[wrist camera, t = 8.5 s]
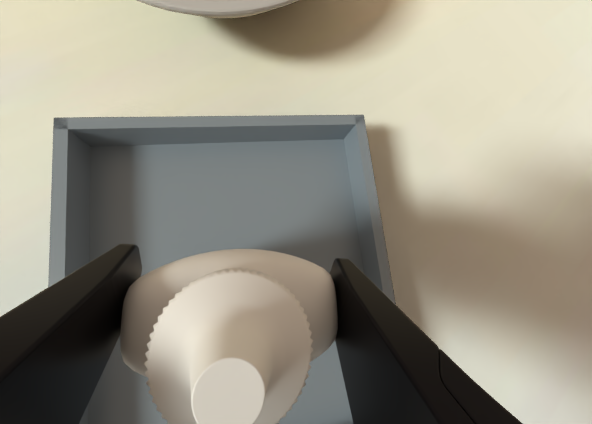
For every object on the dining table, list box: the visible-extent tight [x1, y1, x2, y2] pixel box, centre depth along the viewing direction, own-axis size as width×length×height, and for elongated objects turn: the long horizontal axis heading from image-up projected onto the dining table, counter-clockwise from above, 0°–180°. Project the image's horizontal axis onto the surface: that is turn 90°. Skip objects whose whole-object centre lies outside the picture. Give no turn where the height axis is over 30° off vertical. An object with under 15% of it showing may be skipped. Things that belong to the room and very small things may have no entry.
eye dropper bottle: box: [120, 249, 338, 424], centre depth 8 cm, size 4×6×12 cm
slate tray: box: [48, 115, 396, 424], centre depth 15 cm, size 18×16×3 cm
